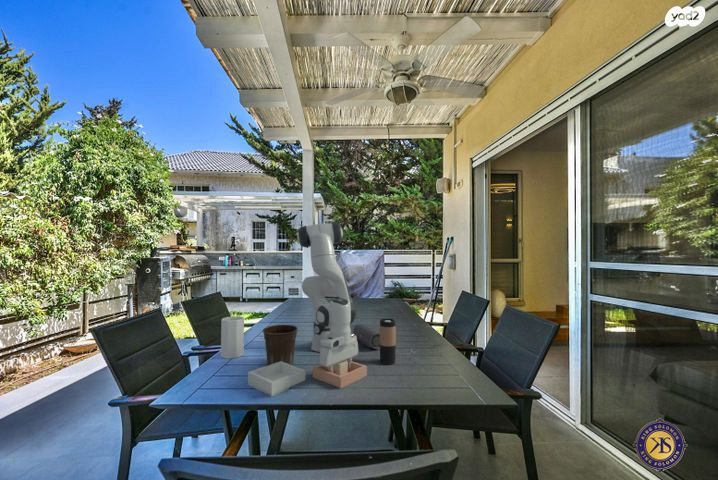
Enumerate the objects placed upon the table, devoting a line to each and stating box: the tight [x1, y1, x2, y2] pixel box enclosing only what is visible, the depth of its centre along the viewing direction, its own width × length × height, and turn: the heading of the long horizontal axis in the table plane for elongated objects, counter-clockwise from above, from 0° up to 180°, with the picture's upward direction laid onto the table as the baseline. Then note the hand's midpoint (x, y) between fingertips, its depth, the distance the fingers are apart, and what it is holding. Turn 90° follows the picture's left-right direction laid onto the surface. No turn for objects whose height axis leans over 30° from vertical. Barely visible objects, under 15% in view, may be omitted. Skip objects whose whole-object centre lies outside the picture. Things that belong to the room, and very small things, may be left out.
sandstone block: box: [332, 361, 348, 376], centre depth 135 cm, size 4×4×6 cm
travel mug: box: [379, 318, 397, 366], centre depth 154 cm, size 8×8×20 cm
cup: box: [220, 316, 245, 360], centre depth 163 cm, size 11×11×18 cm
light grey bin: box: [247, 361, 306, 397], centre depth 129 cm, size 16×16×5 cm
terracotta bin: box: [312, 359, 368, 389], centre depth 135 cm, size 16×16×5 cm
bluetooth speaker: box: [352, 323, 380, 349], centre depth 181 cm, size 23×9×10 cm, turn 25°
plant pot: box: [262, 324, 299, 366], centre depth 153 cm, size 16×16×16 cm
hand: (339, 371), depth 135 cm, fingers open, 8 cm apart
